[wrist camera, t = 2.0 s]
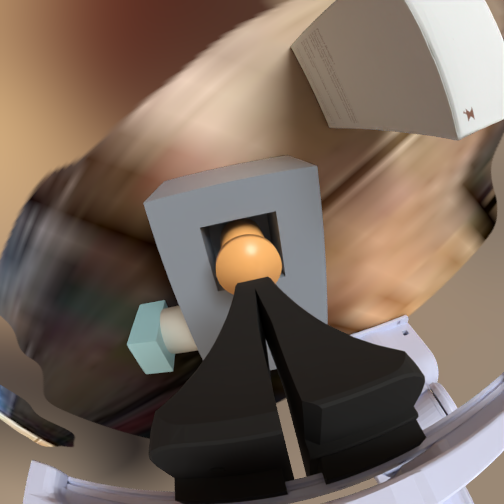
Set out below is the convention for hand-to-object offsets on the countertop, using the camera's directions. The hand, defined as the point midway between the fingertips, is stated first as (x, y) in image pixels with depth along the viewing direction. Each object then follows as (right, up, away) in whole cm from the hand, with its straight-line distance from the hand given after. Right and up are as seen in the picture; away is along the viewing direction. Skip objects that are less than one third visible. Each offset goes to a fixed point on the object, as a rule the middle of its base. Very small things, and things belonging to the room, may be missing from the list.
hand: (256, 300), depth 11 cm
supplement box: (+7, +16, +6) cm, 18 cm away
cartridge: (-4, -3, +12) cm, 13 cm away
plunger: (-1, +3, +6) cm, 7 cm away
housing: (-1, +2, +11) cm, 11 cm away
